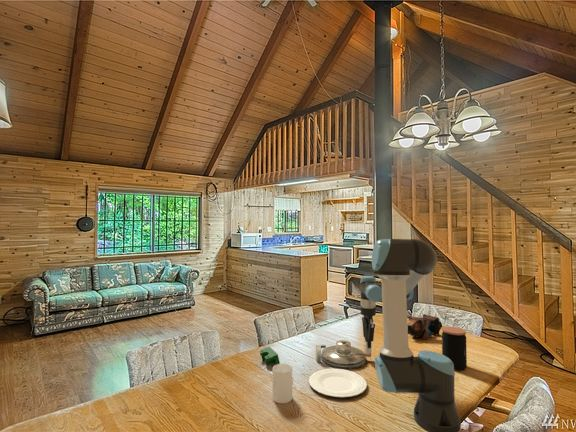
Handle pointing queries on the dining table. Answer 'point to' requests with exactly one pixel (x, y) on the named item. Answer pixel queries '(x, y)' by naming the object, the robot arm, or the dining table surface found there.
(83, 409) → the dining table surface
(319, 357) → the turntable base
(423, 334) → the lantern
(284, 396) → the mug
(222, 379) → the dining table surface
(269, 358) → the clamp
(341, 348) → the cover
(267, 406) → the dining table surface
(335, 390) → the plate
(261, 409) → the dining table surface
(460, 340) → the coffee jar
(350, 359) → the turntable
